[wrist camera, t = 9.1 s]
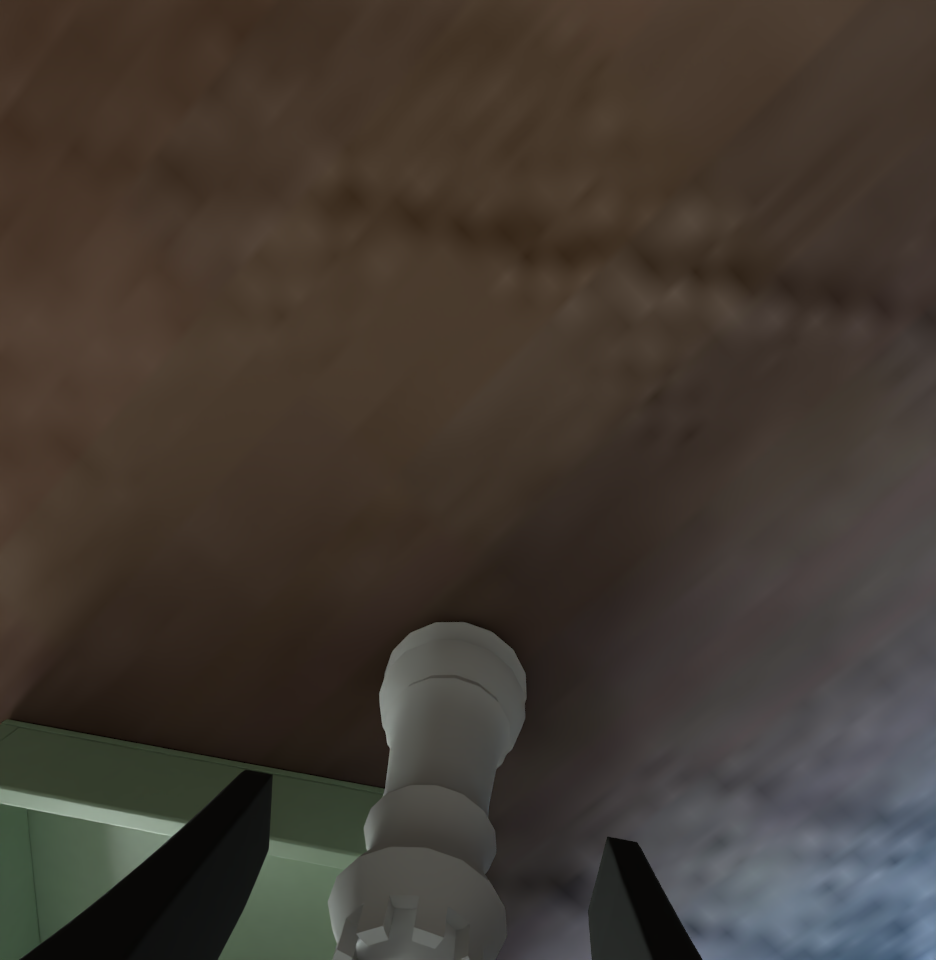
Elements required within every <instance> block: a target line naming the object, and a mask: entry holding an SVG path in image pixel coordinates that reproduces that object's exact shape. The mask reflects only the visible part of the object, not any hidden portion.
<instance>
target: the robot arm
mask: <svg viewBox="0 0 936 960" xmlns="http://www.w3.org/2000/svg"><path fill="white" fill-rule="evenodd" d="M272 782H273V774H267V773H262V772H257V771H251V770H244V771H243V772H241V773H240V774H239V775H238V776H237V777H236V778H235V779H234V780H233V781H231V782H230V783H229V784H228V785H227V786H226V787H225V788H224V789H223V790H222V791H221V792H220V793H219V794H218V795H217V796H216V797H215V798H214V799H213V800H211V801H210V802H209V803H208V804H207V805H206V806H205V807H204V808H203V809H202V810H201V811H200V812H199V813H197V814H196V815H195V816H194V817H193V818H192V819H191V820H190V821H189V822H188V823H187V824H186V825H184V826H183V827H182V828H181V829H180V830H179V831H178V832H177V833H175V834H174V835H173V836H172V837H171V838H170V839H169V840H168V841H166V842H165V843H164V844H163V845H162V846H161V847H160V848H158V849H157V850H156V851H155V852H154V853H153V854H152V855H151V856H149V857H148V858H147V859H146V860H145V861H144V862H142V863H141V864H140V865H139V866H138V867H137V868H135V869H134V870H133V871H132V872H131V873H129V874H128V875H127V876H126V877H125V878H123V879H122V880H121V881H120V882H118V883H117V884H116V885H115V886H114V887H112V888H111V889H110V890H109V891H107V892H106V893H105V894H104V895H103V896H101V897H100V898H99V899H98V900H97V901H95V902H94V903H93V904H92V905H90V906H89V907H88V908H87V909H85V910H84V911H83V912H81V913H80V914H79V915H78V916H76V917H75V918H74V919H72V920H71V921H70V922H69V923H67V924H66V925H65V926H63V927H62V928H61V929H59V930H58V931H57V932H56V933H54V934H53V935H52V936H50V937H49V938H48V939H46V940H45V941H43V942H42V943H41V944H39V945H38V946H37V947H35V948H34V949H33V950H31V951H30V952H29V953H27V954H26V955H24V956H23V957H22V958H20V959H19V960H218V958H219V956H220V955H221V953H222V951H223V949H224V947H225V945H226V943H227V941H228V939H229V937H230V935H231V933H232V931H233V930H234V928H235V926H236V924H237V922H238V920H239V918H240V916H241V914H242V912H243V910H244V908H245V906H246V903H247V901H248V899H249V896H250V894H251V892H252V889H253V887H254V885H255V882H256V880H257V877H258V875H259V873H260V870H261V868H262V865H263V863H264V860H265V858H266V855H267V853H268V850H269V838H270V819H271V801H272ZM588 916H589V930H590V943H591V955H592V960H702V958H701V956H700V954H699V953H698V951H697V949H696V948H695V946H694V944H693V943H692V941H691V939H690V937H689V936H688V934H687V932H686V930H685V929H684V927H683V925H682V923H681V922H680V920H679V918H678V916H677V914H676V912H675V911H674V909H673V907H672V905H671V903H670V902H669V900H668V898H667V896H666V894H665V892H664V891H663V889H662V887H661V885H660V883H659V881H658V879H657V878H656V876H655V874H654V872H653V870H652V868H651V866H650V864H649V863H648V861H647V859H646V857H645V855H644V853H643V851H642V849H641V847H640V846H639V845H638V843H637V842H633V841H628V840H622V839H617V838H611V837H607V840H606V844H605V848H604V852H603V856H602V860H601V863H600V867H599V871H598V875H597V879H596V883H595V887H594V890H593V894H592V898H591V902H590V906H589V910H588Z"/></svg>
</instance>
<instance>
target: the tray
mask: <svg viewBox="0 0 936 960" xmlns="http://www.w3.org/2000/svg"><path fill="white" fill-rule="evenodd" d="M244 770H251V771H257V772H262V773H267V774H273V782H272V801H271V819H270V838H269V850H268V853H267V855H266V858H265V860H264V863H263V865H262V868H261V870H260V873H259V875H258V877H257V880H256V882H255V885H254V887H253V889H252V892H251V894H250V896H249V899H248V901H247V903H246V906H245V908H244V910H243V912H242V914H241V916H240V918H239V920H238V922H237V924H236V926H235V928H234V930H233V931H232V933H231V935H230V937H229V939H228V941H227V943H226V945H225V947H224V949H223V951H222V953H221V955H220V956H219V958H218V960H332V959H333V955H334V952H335V948H336V945H337V943H336V939H335V936H334V933H333V930H332V926H331V919H330V913H329V907H328V899H329V897H330V894H331V891H332V888H333V885H334V883H335V880H336V877H337V876H338V875H339V874H340V873H341V872H342V871H343V870H345V869H346V868H347V867H348V866H349V865H350V864H351V863H352V862H354V861H355V860H356V859H357V858H358V857H359V856H361V855H362V854H364V853H365V852H366V851H367V849H366V842H365V835H364V825H365V823H366V820H367V817H368V814H369V812H370V809H371V808H372V807H373V806H374V805H375V804H376V803H377V802H378V801H379V800H380V799H381V798H382V797H383V794H384V790H385V789H383V788H378V787H372V786H367V785H361V784H356V783H351V782H345V781H340V780H334V779H329V778H323V777H318V776H313V775H307V774H302V773H296V772H291V771H285V770H280V769H275V768H269V767H264V766H258V765H253V764H247V763H242V762H237V761H231V760H226V759H220V758H215V757H209V756H204V755H199V754H193V753H188V752H182V751H177V750H171V749H166V748H161V747H155V746H150V745H144V744H139V743H133V742H128V741H123V740H117V739H112V738H106V737H101V736H95V735H90V734H85V733H79V732H74V731H68V730H63V729H57V728H52V727H47V726H41V725H36V724H30V723H25V722H19V721H14V720H8V719H6V720H5V721H3V722H2V724H1V725H0V960H19V959H20V958H22V957H23V956H24V955H26V954H27V953H29V952H30V951H31V950H33V949H34V948H35V947H37V946H38V945H39V944H41V943H42V942H43V941H45V940H46V939H48V938H49V937H50V936H52V935H53V934H54V933H56V932H57V931H58V930H59V929H61V928H62V927H63V926H65V925H66V924H67V923H69V922H70V921H71V920H72V919H74V918H75V917H76V916H78V915H79V914H80V913H81V912H83V911H84V910H85V909H87V908H88V907H89V906H90V905H92V904H93V903H94V902H95V901H97V900H98V899H99V898H100V897H101V896H103V895H104V894H105V893H106V892H107V891H109V890H110V889H111V888H112V887H114V886H115V885H116V884H117V883H118V882H120V881H121V880H122V879H123V878H125V877H126V876H127V875H128V874H129V873H131V872H132V871H133V870H134V869H135V868H137V867H138V866H139V865H140V864H141V863H142V862H144V861H145V860H146V859H147V858H148V857H149V856H151V855H152V854H153V853H154V852H155V851H156V850H157V849H158V848H160V847H161V846H162V845H163V844H164V843H165V842H166V841H168V840H169V839H170V838H171V837H172V836H173V835H174V834H175V833H177V832H178V831H179V830H180V829H181V828H182V827H183V826H184V825H186V824H187V823H188V822H189V821H190V820H191V819H192V818H193V817H194V816H195V815H196V814H197V813H199V812H200V811H201V810H202V809H203V808H204V807H205V806H206V805H207V804H208V803H209V802H210V801H211V800H213V799H214V798H215V797H216V796H217V795H218V794H219V793H220V792H221V791H222V790H223V789H224V788H225V787H226V786H227V785H228V784H229V783H230V782H231V781H233V780H234V779H235V778H236V777H237V776H238V775H239V774H240V773H241V772H243V771H244Z"/></svg>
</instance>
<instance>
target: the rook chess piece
mask: <svg viewBox="0 0 936 960" xmlns="http://www.w3.org/2000/svg"><path fill="white" fill-rule="evenodd" d="M384 676H385V678H384V681H383V684H382V687H381V690H380V692H379V702H380V711H381V719H382V727H383V729H384V730H385V732H386V739H387V744H388V746H389V748H390V754H389V762H388V769H387V777H386V785H385V790H384V794H383V797H382V798H381V799H380V800H379V801H378V802H377V803H376V804H375V805H374V806H373V807H372V808H371V809H370V812H369V814H368V817H367V820H366V823H365V825H364V835H365V842H366V849H367V851H366V852H365V853H364V854H362V855H361V856H359V857H358V858H357V859H356V860H355V861H354V862H352V863H351V864H350V865H349V866H348V867H347V868H346V869H345V870H343V871H342V872H341V873H340V874H339V875H338V876H337V877H336V880H335V883H334V885H333V888H332V891H331V894H330V897H329V899H328V907H329V913H330V919H331V926H332V930H333V933H334V936H335V939H336V943H337V945H336V948H335V952H334V955H333V959H332V960H496V958H497V956H498V954H499V952H500V950H501V948H502V946H503V944H504V942H505V940H506V938H507V926H506V909H505V907H504V905H503V903H502V902H501V900H500V898H499V897H498V895H497V893H496V891H495V890H494V888H493V886H492V885H491V883H490V881H489V880H488V878H487V877H486V875H485V873H487V872H488V870H489V868H490V865H491V863H492V861H493V859H494V857H495V855H496V836H495V830H494V828H493V826H492V824H491V823H490V821H489V819H488V810H489V803H490V798H491V793H492V788H493V783H494V778H495V773H496V769H497V768H498V767H499V766H500V765H501V764H502V763H503V761H504V758H505V756H506V754H507V753H509V752H510V751H511V750H512V749H513V746H514V744H515V742H516V740H517V737H518V735H519V733H520V731H521V728H522V726H523V723H524V720H525V701H526V699H527V695H526V673H525V671H524V669H523V667H522V665H521V664H520V662H519V660H518V658H517V656H516V654H515V652H514V650H513V649H512V648H511V647H509V646H508V645H507V644H506V643H505V642H504V641H502V640H501V639H500V638H499V637H498V636H496V635H495V634H494V633H493V632H491V631H489V630H486V629H483V628H480V627H477V626H474V625H472V624H469V623H466V622H435V623H433V624H431V625H428V626H426V627H423V628H421V629H418V630H416V631H413V632H411V633H410V634H409V635H408V636H407V637H406V638H405V639H404V640H403V641H402V642H401V643H400V644H399V645H398V646H397V647H396V648H395V649H394V650H393V651H392V653H391V656H390V659H389V662H388V665H387V668H386V671H385V674H384Z"/></svg>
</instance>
